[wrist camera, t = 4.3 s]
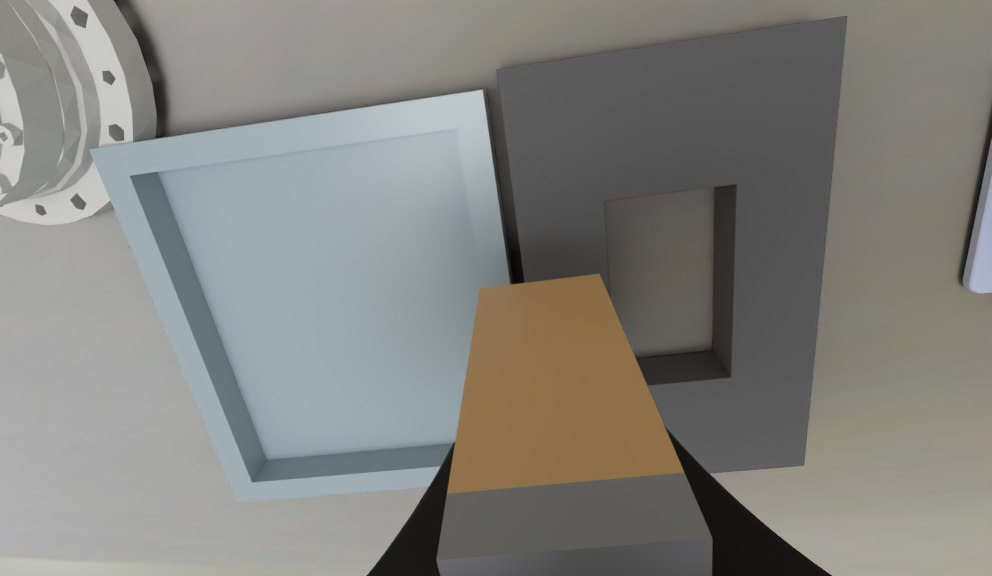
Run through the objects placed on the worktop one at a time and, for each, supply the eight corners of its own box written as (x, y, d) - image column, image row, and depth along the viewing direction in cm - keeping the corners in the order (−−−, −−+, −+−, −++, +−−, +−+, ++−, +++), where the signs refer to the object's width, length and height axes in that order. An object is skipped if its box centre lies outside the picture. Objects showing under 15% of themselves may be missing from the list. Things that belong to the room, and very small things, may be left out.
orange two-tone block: (599, 273, 13) (712, 537, 6) (614, 466, 15) (709, 838, 8) (479, 288, 13) (436, 560, 6) (511, 475, 15) (508, 845, 8)
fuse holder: (810, 22, 17) (847, 15, 15) (780, 433, 23) (804, 465, 21) (498, 70, 18) (496, 69, 16) (548, 453, 24) (550, 486, 22)
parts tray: (486, 88, 18) (482, 89, 16) (536, 445, 23) (537, 477, 22) (130, 141, 19) (88, 149, 17) (258, 470, 25) (237, 502, 23)
